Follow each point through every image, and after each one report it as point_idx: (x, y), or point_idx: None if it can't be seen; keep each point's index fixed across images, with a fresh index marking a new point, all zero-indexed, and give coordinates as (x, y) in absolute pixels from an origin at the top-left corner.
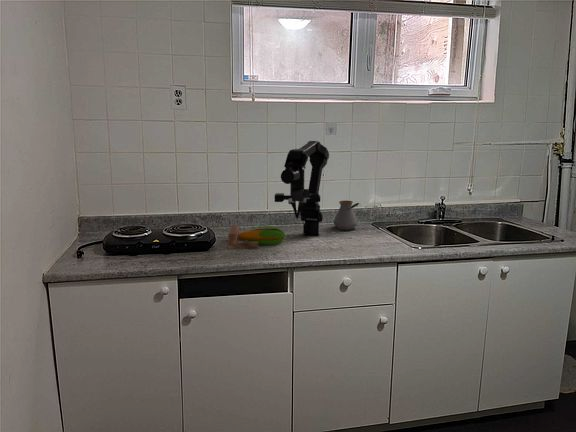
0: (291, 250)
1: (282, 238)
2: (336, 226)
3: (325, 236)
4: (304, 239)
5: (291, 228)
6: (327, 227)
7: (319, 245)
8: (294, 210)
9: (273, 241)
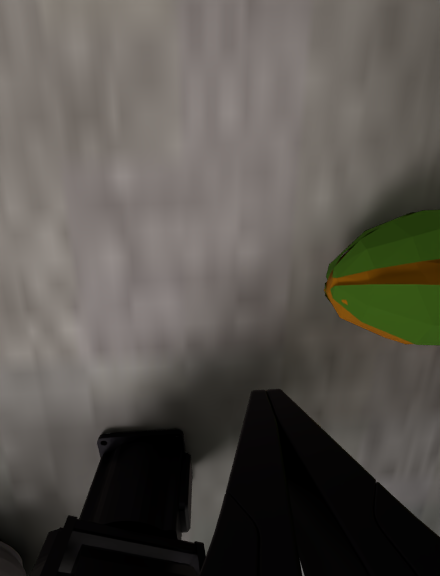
0: (278, 77)
1: (350, 246)
2: (14, 561)
3: (61, 427)
4: (182, 364)
5: None
6: None
7: (72, 231)
8: (372, 489)
9: (414, 212)
